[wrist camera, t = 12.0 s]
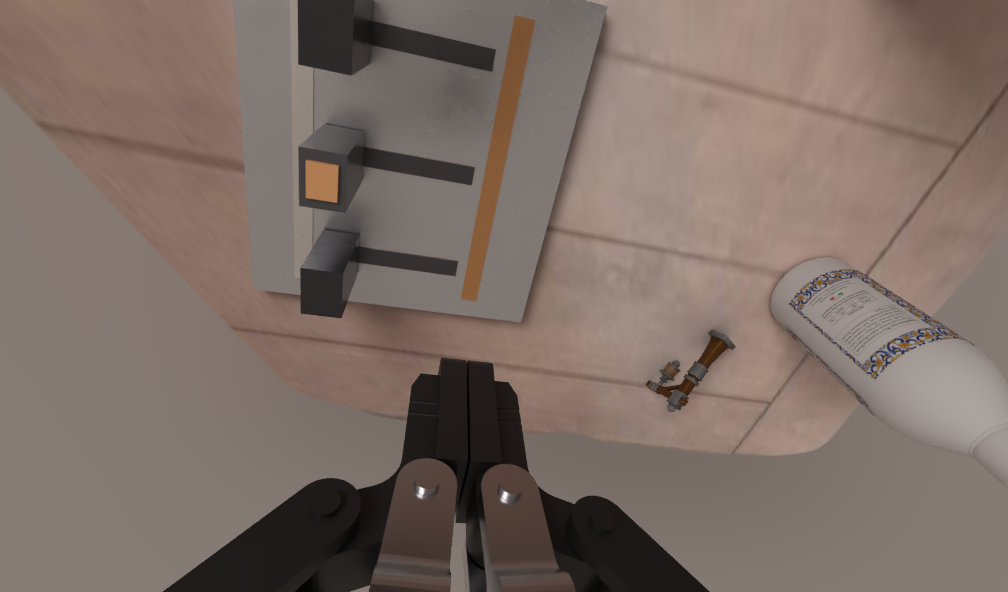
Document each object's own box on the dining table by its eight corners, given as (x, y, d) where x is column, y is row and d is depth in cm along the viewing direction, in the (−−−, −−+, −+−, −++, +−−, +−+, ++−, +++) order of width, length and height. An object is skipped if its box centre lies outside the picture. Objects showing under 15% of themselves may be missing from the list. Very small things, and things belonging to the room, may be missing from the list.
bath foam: (838, 316, 42) (1102, 527, 25) (761, 330, 42) (972, 550, 25) (857, 247, 38) (1182, 438, 21) (773, 262, 38) (1030, 465, 21)
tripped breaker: (364, 131, 29) (346, 156, 24) (362, 181, 30) (344, 214, 26) (324, 123, 28) (297, 147, 23) (323, 175, 30) (297, 207, 25)
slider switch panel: (601, 6, 28) (641, 5, 22) (519, 314, 39) (530, 369, 33) (236, -89, 24) (165, -121, 18) (258, 281, 35) (219, 335, 29)
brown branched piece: (636, 388, 43) (670, 410, 39) (689, 321, 44) (728, 336, 40) (646, 398, 44) (681, 420, 40) (698, 332, 44) (738, 347, 40)
